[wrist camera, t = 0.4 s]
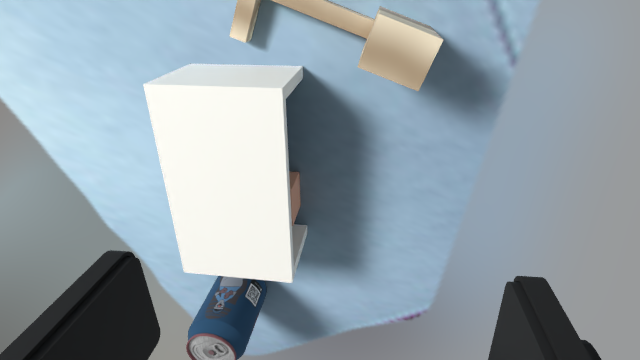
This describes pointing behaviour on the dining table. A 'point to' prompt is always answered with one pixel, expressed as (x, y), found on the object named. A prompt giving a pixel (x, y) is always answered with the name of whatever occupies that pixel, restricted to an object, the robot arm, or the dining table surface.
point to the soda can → (226, 319)
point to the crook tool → (381, 33)
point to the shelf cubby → (228, 167)
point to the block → (294, 194)
